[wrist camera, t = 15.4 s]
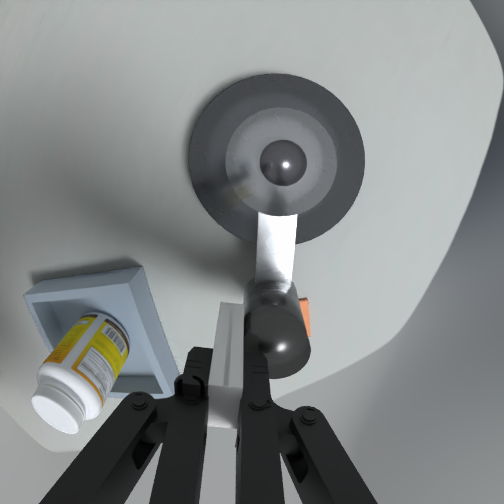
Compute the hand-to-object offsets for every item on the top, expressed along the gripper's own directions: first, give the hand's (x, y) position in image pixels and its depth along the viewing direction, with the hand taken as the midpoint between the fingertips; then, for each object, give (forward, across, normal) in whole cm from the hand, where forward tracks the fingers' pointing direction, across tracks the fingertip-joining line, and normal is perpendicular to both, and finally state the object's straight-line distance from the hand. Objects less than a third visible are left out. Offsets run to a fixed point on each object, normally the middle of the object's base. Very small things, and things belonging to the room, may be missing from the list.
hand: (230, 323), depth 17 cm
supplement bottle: (+6, -11, -7) cm, 14 cm away
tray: (+6, -11, -7) cm, 15 cm away
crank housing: (+6, +2, +9) cm, 11 cm away
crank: (+4, +2, +5) cm, 7 cm away
